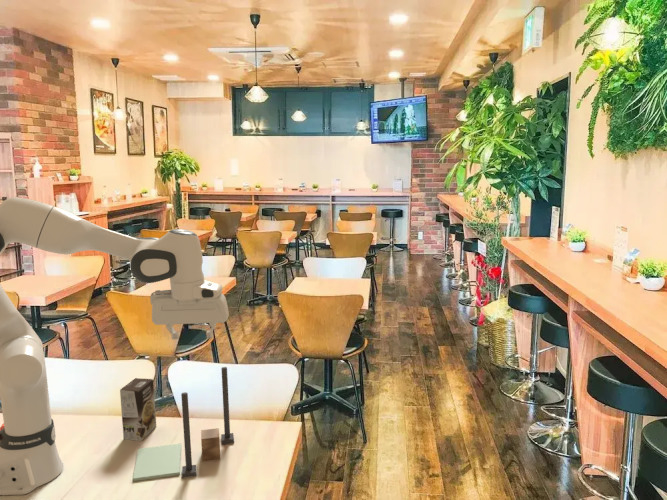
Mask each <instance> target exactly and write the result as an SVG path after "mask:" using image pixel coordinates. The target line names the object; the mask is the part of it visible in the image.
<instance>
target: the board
mask: <svg viewBox="0 0 667 500" xmlns="http://www.w3.org/2000/svg"><path fill="white" fill-rule="evenodd" d="M181 460H182V443H175V444H174V443H172V444H165V445H158V446H150V447H149V446H148V447H143V448H141V447H140V448H138V450H137V454H136V459H135V466H134V471H133V477H132V481H133V482H137V481H145V480H152V479H161V478H166V477H174V476H180V474H181Z"/></svg>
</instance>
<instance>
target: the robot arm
mask: <svg viewBox="0 0 667 500" xmlns="http://www.w3.org/2000/svg"><path fill="white" fill-rule="evenodd" d="M13 243H19V244H23V245H27V246H30V247H33V248H36V249H38V250H42V251H45V252H48V253H53V254H59V255H60V254H61V255H71V254H75V253H80V252H84V251H85V252H86V251H96V252H102V253H105V254H108V255H111V256H115V257H118V258H122V259H125V260H127V261H129V262H130V264H129V266H130V271H131V274H132V275H133V276H134V278H135V279H137V280H138V281H140V282H142V283H145V284H152V283H158V282H162V281H165V280H168V279H169V283H170V289H165V290H164V289H163V290H160V289H159V290H158V289H157V290H155V291H154V292H152V293H151V294H150V296H149V299H150V300H149V301H150V304H151V307H152V308H151V321H152V323H153V324H154V325H156V326H158V325H159V326H160V325H162V326H163V325H166V326H165V328H166V330H167V331H168V332H169V333H170V334H171V340H179V337H180V336H179V331H178V330H177V331H176V329H175V328H174V327H173V326H174V325H187V324H188V325H191V324H192V325H193V324H209V327H211V328H210V329H209V330H206V332H205V334H206V339H213V338H214V330H215V328H216V325H217V324H220V323H221V324H223V323H225V322H226V321H227V320H228V319H229V314H230V313H229V306H228V301H227V298H226V296H225V294H224V293H222V292H223V285H222V284H220V283H217V282H213V281H210V280H206V279H205V275H204V273H203V253H202V252H203V251H202V246H201V241H200V237H199V236H198V235H197V234H196V233H195V232H194V231H191V230H188V229H183V228H182V229H181V228H179V229H177V228H176V229H175V228H174V229H171V230H169V231H168V232H167V233H165V234H164V235H162V237H160V238H159V237H155V236H154V237H151V236H150V237H149V236H147V237H135V236H132V235H128V234H125V233H121V232H119V231H115V230H112V229H110V228H109V229H108V228H105V227H103V226H101V225H97V224H95V223H93V222H91V221H89V220H86V219H84V218H82V217H81V216H78V215H77V214H74V213H72V212H69V211H68V210H65V209H63V208H60V207H58V206H54V205H52V204H49V203H46V202H43V201H39V200H33V199H29V198H25V197H19V196H18V197H17V196H12V197H9V198H6V199H5V200H3V201H2V202H1V203H0V256H1V255H2V254H3V253H4V251H5V250H6V248H8V247H9V246H10V244H13ZM49 394H50V393H49V385H48V377H47V366H46V359H45V352H44V345H43V342H42V340H41V338H40V337H39V335H38V334H37V332H35V330H34V328H33V327H32V326H31V325H30V324H29V322H28V321H27V320H26V319H25V317H24V316H23V315H22V314H21V312H19V310H18V309H17V308H16V306H15V305H14V303H13V301H12V300H11V299H10V297H9V295H8V294H7V293H6V291H5V290H4V288H3V286H2V285H1V284H0V403H1V404H0V405H1V411H2V418H3V419H2V421H3V423H2V424H1V426H0V496H6V495H7V496H9V495H10V496H11V495H13V496H15V495H26V494H30V493H31V492H32V491H34V490H35V489H37V488H39V487H41V486H42V485H45V484H47V483H49V482H51V481H52V480H54V479H56V478H57V477H58V476H59V475H60V474H61V473H62V472H63V469H64V463H63V461H62V459H61V457H60V455H59V452H58V451H59V450H58V448H57V445H56V427H55V424H54V423H55V422H54V419H53V418H52V413H51V403H50V396H49Z"/></svg>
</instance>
